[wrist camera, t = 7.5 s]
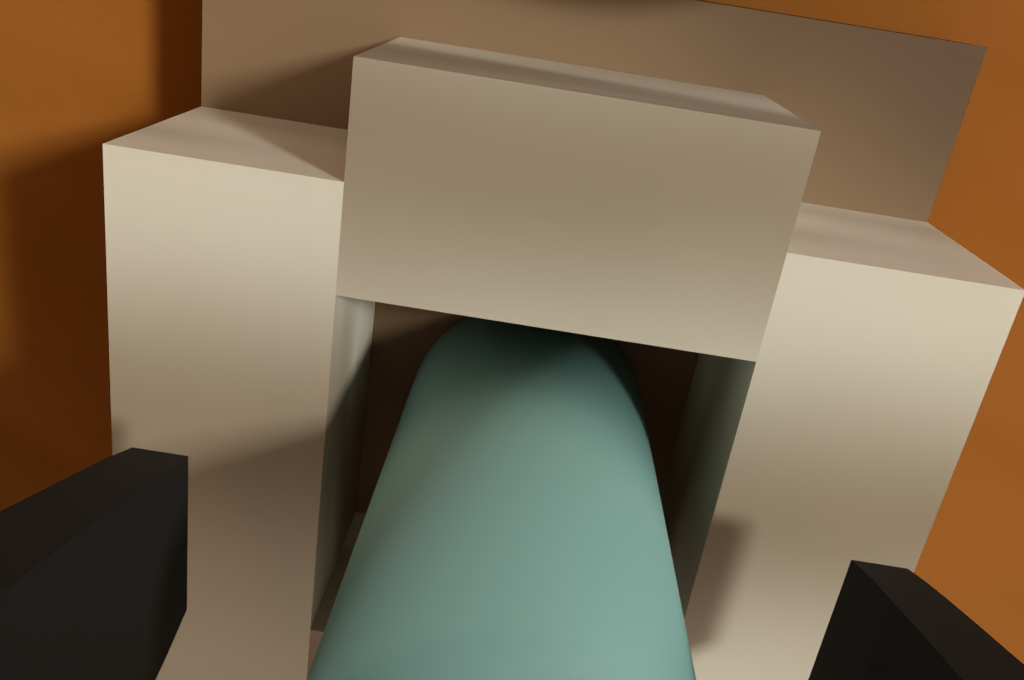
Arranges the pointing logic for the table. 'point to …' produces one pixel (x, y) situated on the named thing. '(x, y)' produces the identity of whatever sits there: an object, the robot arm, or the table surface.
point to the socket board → (551, 287)
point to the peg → (513, 524)
